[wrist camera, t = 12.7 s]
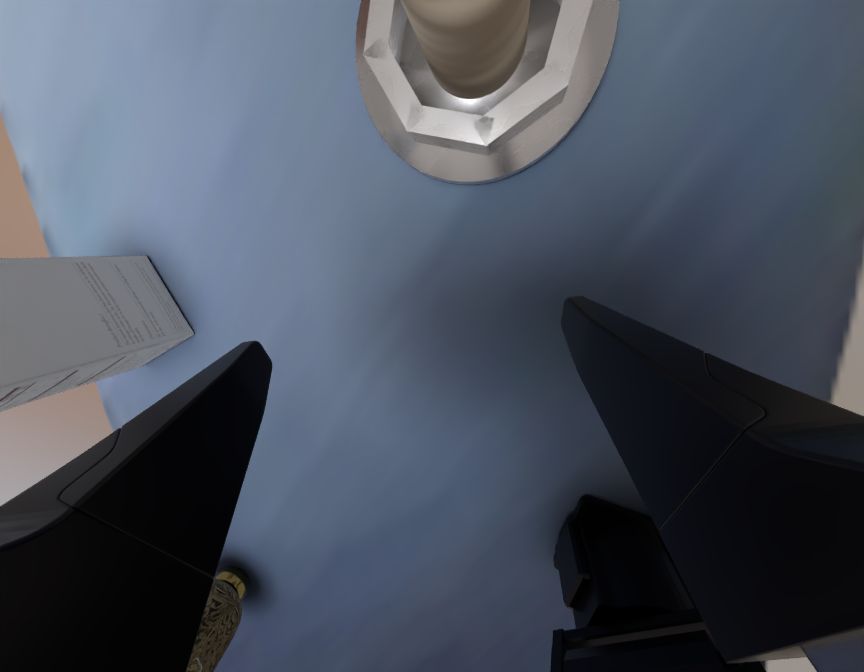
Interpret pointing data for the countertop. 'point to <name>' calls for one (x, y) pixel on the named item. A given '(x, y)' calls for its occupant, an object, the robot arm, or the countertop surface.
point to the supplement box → (80, 322)
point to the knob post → (470, 41)
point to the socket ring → (493, 114)
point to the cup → (219, 619)
